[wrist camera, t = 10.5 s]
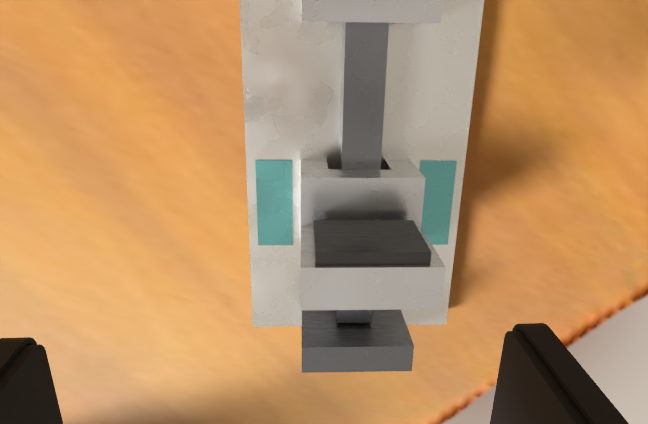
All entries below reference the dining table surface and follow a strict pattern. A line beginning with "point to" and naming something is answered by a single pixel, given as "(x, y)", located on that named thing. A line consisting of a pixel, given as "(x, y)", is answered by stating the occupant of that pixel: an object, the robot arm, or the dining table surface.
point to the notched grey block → (366, 240)
